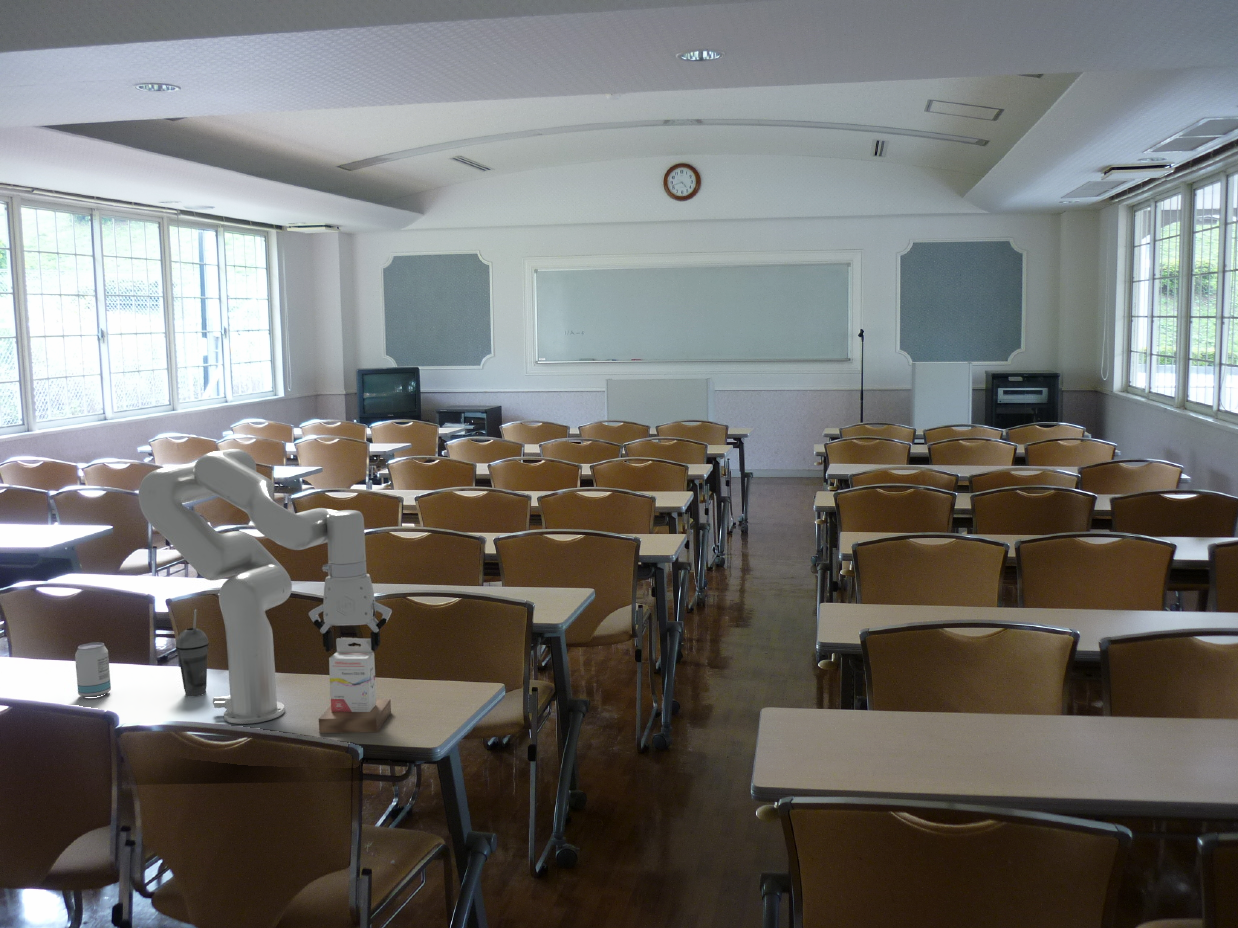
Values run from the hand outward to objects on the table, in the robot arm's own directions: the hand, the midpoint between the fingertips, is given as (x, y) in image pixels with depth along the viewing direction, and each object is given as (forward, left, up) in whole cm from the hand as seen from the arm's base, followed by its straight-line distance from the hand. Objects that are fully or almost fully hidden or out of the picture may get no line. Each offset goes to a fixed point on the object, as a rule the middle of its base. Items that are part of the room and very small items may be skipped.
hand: (352, 649), depth 222 cm
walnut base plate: (0, 0, -16) cm, 16 cm away
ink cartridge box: (0, 0, -13) cm, 13 cm away
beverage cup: (-44, +22, -16) cm, 52 cm away
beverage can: (-68, +22, -16) cm, 73 cm away
